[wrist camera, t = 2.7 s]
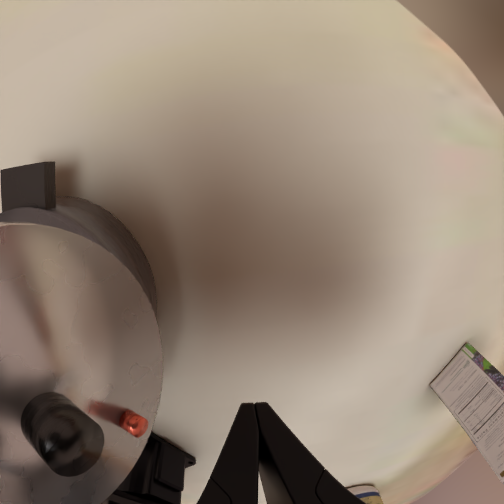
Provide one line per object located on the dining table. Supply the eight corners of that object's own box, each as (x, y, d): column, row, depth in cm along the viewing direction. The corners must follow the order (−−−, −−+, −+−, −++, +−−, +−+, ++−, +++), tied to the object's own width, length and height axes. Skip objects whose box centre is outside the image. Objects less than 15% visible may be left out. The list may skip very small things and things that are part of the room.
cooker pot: (98, 396, 19) (82, 436, 14) (-19, 265, 14) (-55, 286, 10) (214, 316, 17) (213, 362, 13) (64, 137, 13) (19, 132, 9)
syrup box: (479, 359, 22) (554, 435, 8) (444, 399, 23) (508, 483, 9) (466, 340, 21) (557, 428, 7) (426, 386, 22) (502, 487, 8)
